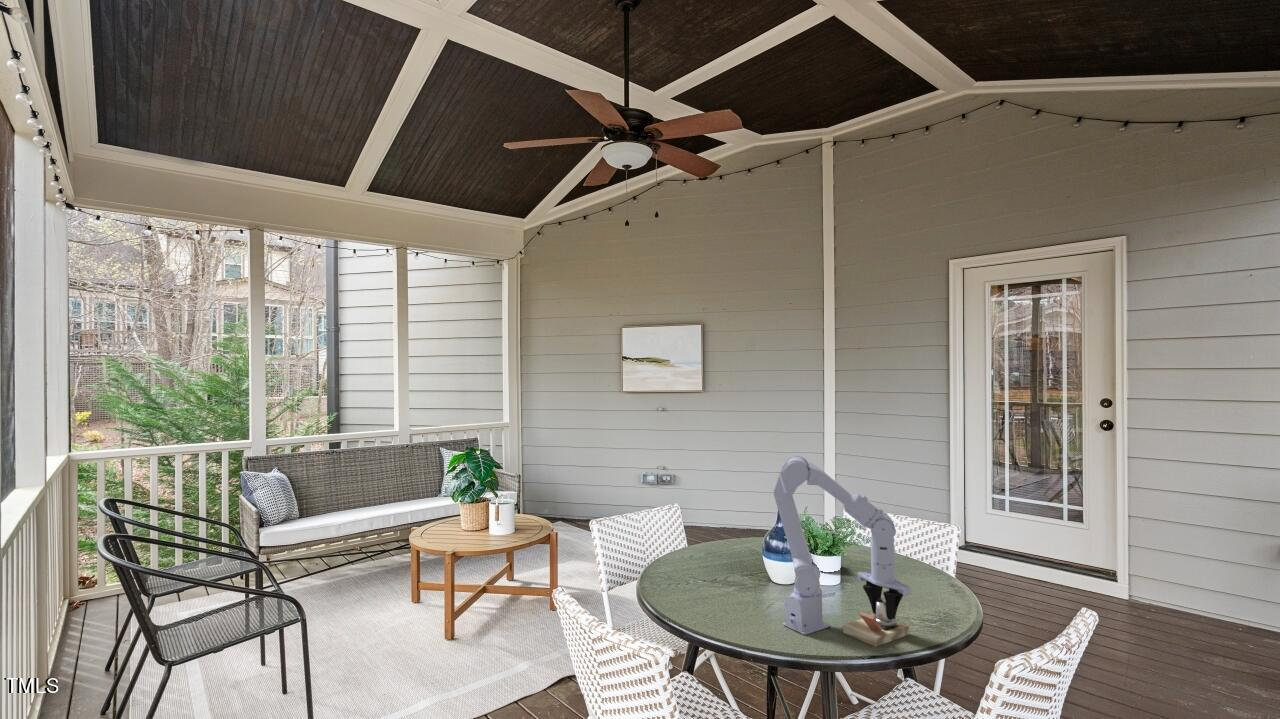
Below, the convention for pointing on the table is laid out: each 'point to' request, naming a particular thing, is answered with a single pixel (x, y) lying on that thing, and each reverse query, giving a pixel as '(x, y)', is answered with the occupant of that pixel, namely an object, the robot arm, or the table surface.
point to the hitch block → (874, 632)
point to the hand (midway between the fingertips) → (884, 615)
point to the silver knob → (883, 615)
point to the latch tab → (871, 621)
